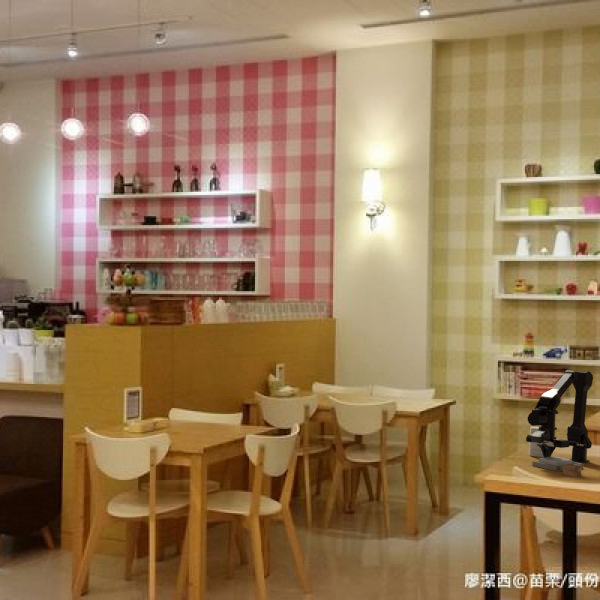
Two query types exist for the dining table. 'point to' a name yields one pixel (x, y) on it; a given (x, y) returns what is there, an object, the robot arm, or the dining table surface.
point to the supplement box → (534, 445)
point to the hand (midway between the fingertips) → (546, 461)
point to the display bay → (552, 466)
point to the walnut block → (572, 470)
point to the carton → (555, 461)
